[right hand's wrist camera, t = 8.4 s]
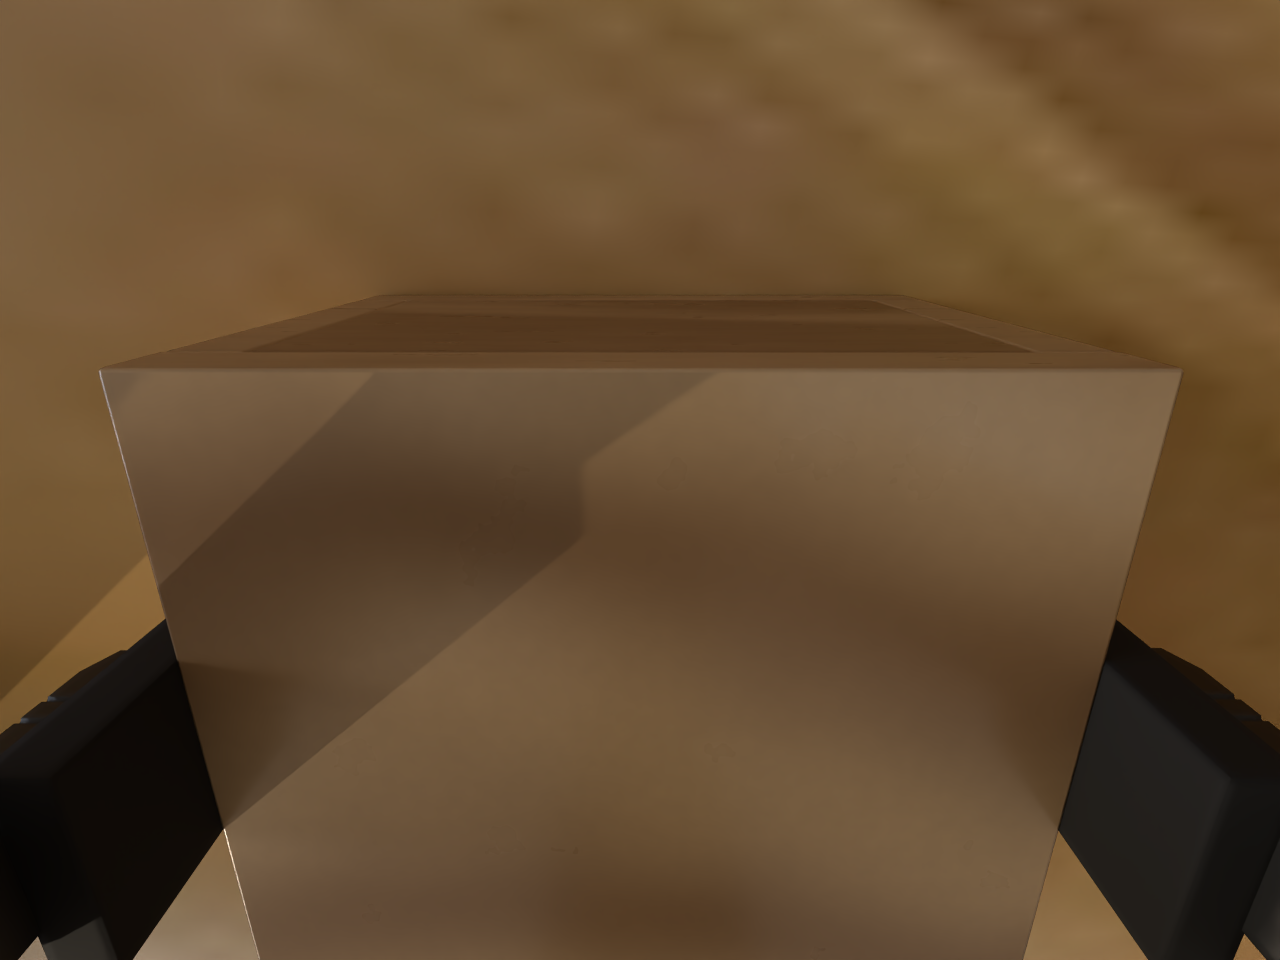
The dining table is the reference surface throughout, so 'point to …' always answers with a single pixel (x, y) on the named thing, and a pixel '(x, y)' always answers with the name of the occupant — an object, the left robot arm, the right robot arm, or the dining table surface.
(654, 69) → the dining table surface
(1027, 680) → the cabinet
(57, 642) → the dining table surface
